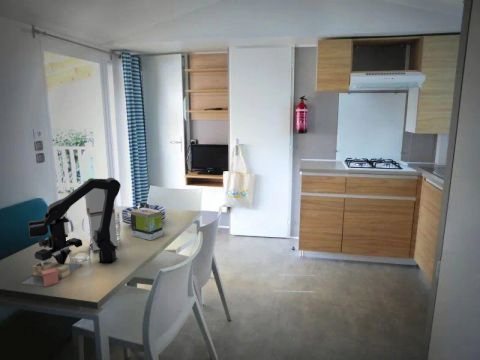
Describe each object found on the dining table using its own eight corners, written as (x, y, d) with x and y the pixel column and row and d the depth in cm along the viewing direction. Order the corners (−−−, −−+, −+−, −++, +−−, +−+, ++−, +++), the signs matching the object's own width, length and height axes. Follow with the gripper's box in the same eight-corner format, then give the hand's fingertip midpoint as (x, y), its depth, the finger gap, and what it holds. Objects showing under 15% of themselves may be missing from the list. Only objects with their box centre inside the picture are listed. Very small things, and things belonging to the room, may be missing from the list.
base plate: (83, 265, 155) (83, 264, 155) (51, 287, 136) (51, 286, 136) (55, 263, 158) (55, 262, 158) (21, 284, 139) (21, 283, 138)
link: (70, 273, 147) (69, 264, 146) (61, 278, 142) (60, 270, 141) (42, 269, 150) (41, 261, 150) (32, 275, 145) (31, 266, 145)
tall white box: (112, 242, 182) (107, 178, 175) (117, 249, 174) (112, 182, 167) (90, 247, 176) (83, 181, 169) (93, 254, 168) (87, 184, 161)
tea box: (163, 235, 193) (162, 210, 190) (150, 241, 185) (148, 214, 182) (144, 230, 201) (143, 206, 198) (131, 235, 193) (129, 210, 190)
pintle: (47, 271, 149) (46, 261, 148) (44, 272, 147) (43, 262, 146) (44, 270, 149) (42, 261, 148) (41, 272, 148) (40, 262, 147)
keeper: (58, 284, 139) (57, 271, 138) (45, 288, 136) (43, 274, 135) (56, 280, 142) (54, 267, 141) (42, 283, 139) (41, 270, 138)
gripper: (65, 223, 157) (68, 255, 160) (24, 237, 141) (29, 272, 144) (81, 227, 152) (84, 260, 155) (41, 241, 136) (45, 277, 139)
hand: (61, 267), depth 149 cm, fingers closed
